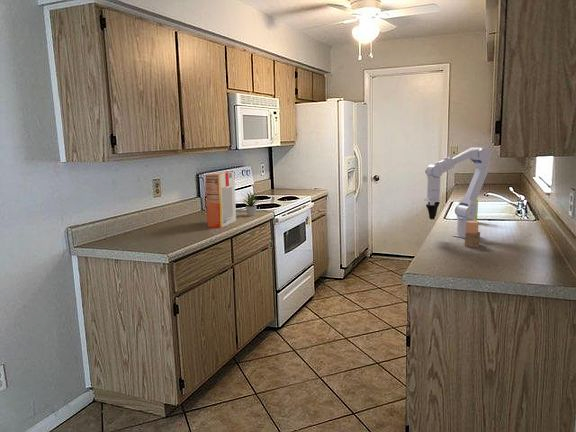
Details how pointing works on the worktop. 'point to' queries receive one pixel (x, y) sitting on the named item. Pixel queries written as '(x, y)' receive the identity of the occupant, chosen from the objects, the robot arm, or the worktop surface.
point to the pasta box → (220, 198)
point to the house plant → (251, 204)
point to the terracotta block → (472, 227)
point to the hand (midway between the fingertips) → (432, 218)
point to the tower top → (472, 237)
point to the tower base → (471, 243)
